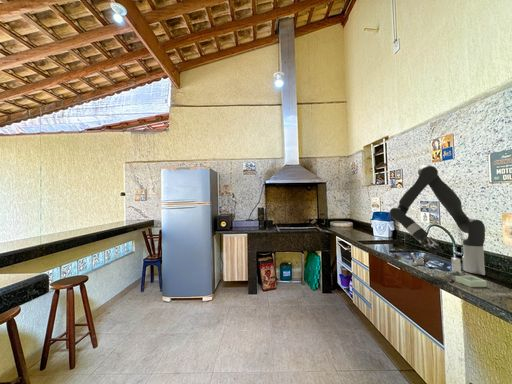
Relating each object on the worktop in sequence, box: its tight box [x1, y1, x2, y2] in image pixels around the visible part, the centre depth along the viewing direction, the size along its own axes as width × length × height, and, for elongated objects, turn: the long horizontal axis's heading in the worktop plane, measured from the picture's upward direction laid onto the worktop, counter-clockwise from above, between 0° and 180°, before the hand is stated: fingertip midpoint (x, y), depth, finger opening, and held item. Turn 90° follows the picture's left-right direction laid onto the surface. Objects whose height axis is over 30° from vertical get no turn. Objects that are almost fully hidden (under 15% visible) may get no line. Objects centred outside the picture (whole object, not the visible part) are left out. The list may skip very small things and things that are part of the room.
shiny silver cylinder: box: [450, 257, 463, 276], centre depth 131 cm, size 4×4×11 cm
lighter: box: [410, 252, 424, 266], centre depth 165 cm, size 7×2×8 cm, turn 78°
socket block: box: [444, 272, 466, 282], centre depth 131 cm, size 7×7×3 cm
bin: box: [455, 275, 488, 288], centre depth 122 cm, size 9×9×4 cm
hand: (438, 253), depth 138 cm, fingers open, 8 cm apart
